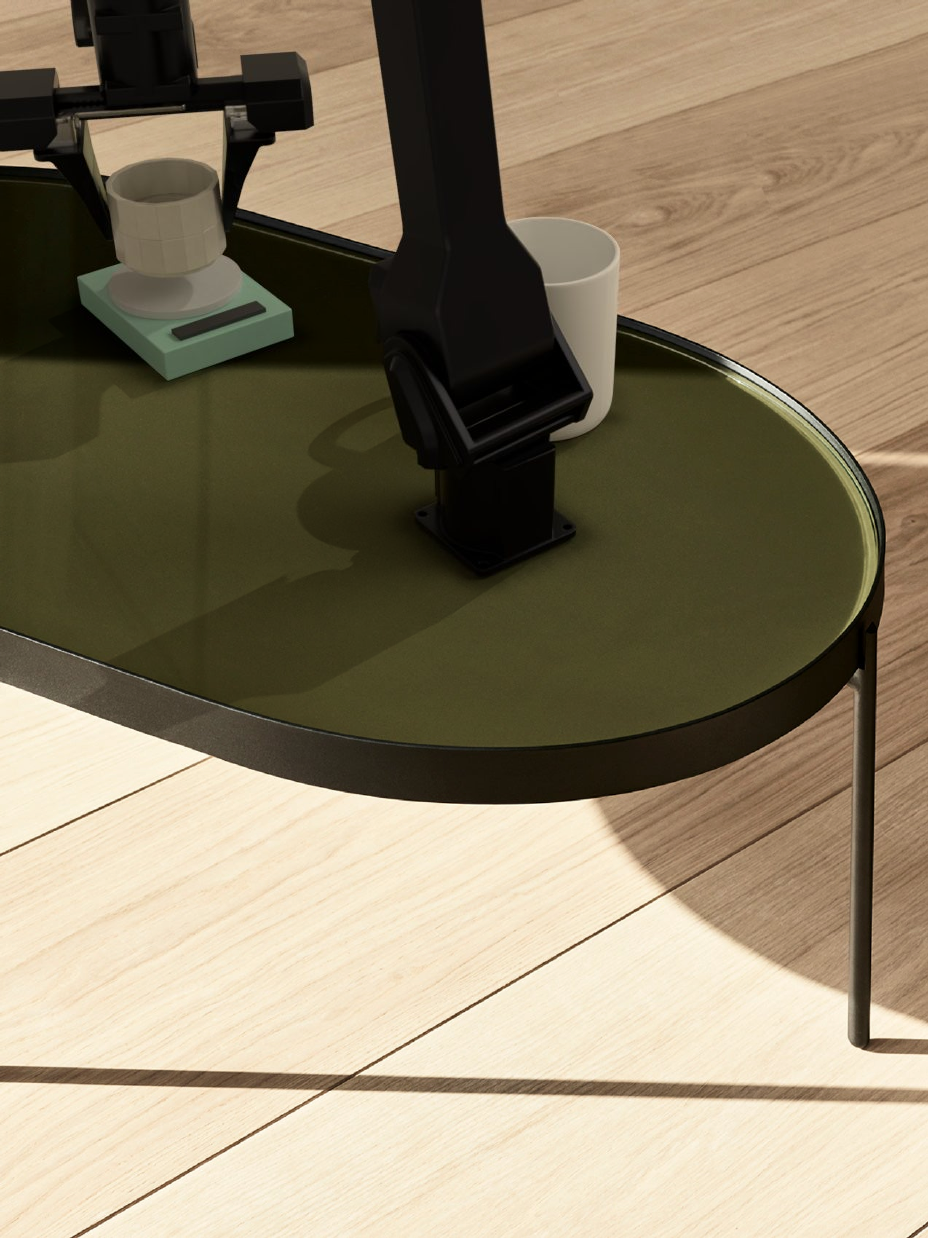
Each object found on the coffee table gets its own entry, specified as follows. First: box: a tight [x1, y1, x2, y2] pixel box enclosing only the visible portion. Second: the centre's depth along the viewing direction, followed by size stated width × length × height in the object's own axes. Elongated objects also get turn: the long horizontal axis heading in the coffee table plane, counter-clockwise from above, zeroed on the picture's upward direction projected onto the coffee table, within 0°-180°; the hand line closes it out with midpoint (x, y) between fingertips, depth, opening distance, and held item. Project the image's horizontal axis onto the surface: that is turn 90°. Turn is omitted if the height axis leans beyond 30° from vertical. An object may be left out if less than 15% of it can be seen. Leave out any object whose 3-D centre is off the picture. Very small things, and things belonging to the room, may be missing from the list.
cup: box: [506, 216, 621, 442], centre depth 97 cm, size 8×12×10 cm
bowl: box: [104, 157, 227, 278], centre depth 104 cm, size 7×7×5 cm
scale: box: [76, 254, 295, 381], centre depth 107 cm, size 12×9×3 cm
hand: (169, 233), depth 105 cm, fingers closed on bowl, 7 cm apart
